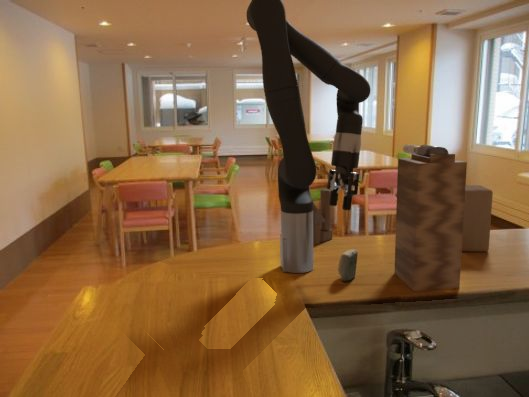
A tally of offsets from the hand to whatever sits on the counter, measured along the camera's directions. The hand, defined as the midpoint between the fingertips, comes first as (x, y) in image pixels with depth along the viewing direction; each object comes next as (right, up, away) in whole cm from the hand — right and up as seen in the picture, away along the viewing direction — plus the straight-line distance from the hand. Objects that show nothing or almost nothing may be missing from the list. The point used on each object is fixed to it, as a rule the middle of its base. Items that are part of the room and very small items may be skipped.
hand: (339, 207), depth 128 cm
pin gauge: (+20, +13, -9) cm, 26 cm away
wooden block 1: (-2, -13, +31) cm, 34 cm away
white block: (+1, -20, -6) cm, 20 cm away
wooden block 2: (+45, -14, +20) cm, 51 cm away
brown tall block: (+21, -19, -8) cm, 30 cm away
